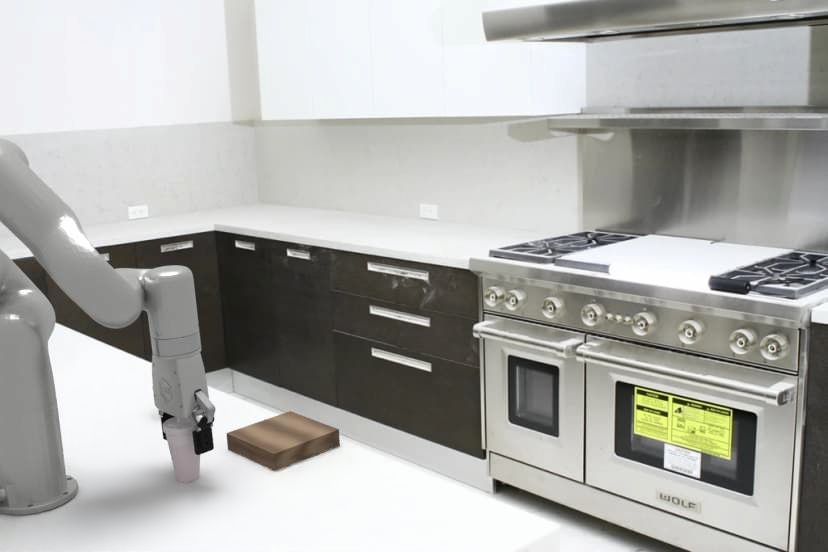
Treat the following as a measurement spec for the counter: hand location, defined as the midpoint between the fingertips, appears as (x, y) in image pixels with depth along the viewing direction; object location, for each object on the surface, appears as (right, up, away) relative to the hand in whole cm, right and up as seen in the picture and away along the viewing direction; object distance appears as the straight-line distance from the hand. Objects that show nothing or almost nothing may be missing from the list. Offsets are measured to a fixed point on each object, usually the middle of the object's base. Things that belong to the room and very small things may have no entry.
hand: (188, 444), depth 145 cm
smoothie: (0, -6, +1) cm, 6 cm away
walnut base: (+14, -3, +12) cm, 18 cm away
